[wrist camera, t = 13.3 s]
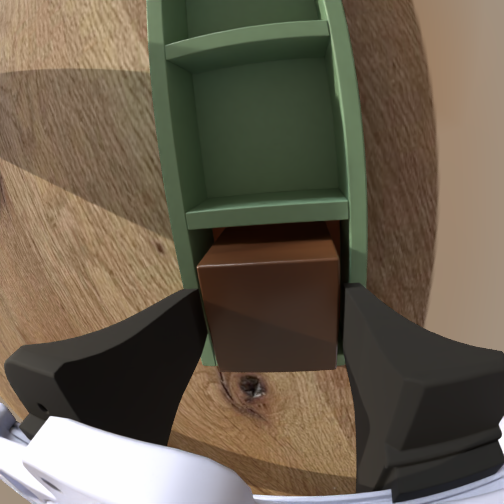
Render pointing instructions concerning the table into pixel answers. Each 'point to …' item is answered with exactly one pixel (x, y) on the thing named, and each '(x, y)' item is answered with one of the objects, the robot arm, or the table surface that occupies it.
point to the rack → (258, 126)
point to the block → (273, 298)
